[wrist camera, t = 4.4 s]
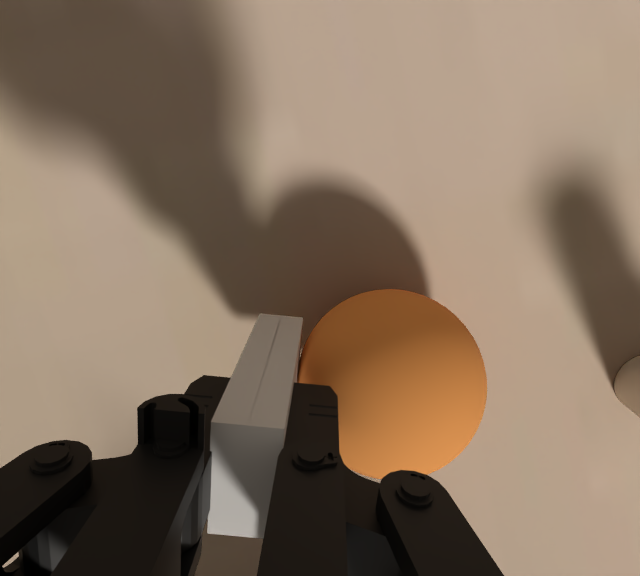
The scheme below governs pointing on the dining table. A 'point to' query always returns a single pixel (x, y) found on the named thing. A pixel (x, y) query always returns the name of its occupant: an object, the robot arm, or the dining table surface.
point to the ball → (397, 380)
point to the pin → (629, 385)
